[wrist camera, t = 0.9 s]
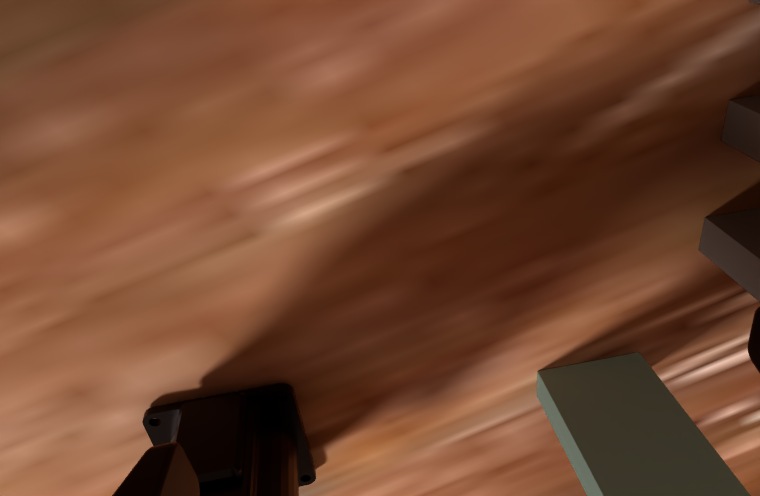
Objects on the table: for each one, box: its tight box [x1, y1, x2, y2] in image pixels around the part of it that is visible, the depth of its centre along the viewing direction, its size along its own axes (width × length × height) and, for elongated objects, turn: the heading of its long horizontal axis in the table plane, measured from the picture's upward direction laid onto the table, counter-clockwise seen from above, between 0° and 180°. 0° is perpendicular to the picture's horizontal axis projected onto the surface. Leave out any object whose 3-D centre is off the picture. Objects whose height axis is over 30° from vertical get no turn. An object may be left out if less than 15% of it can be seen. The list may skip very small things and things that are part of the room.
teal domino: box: [537, 352, 751, 496], centre depth 25 cm, size 2×5×8 cm, turn 97°
